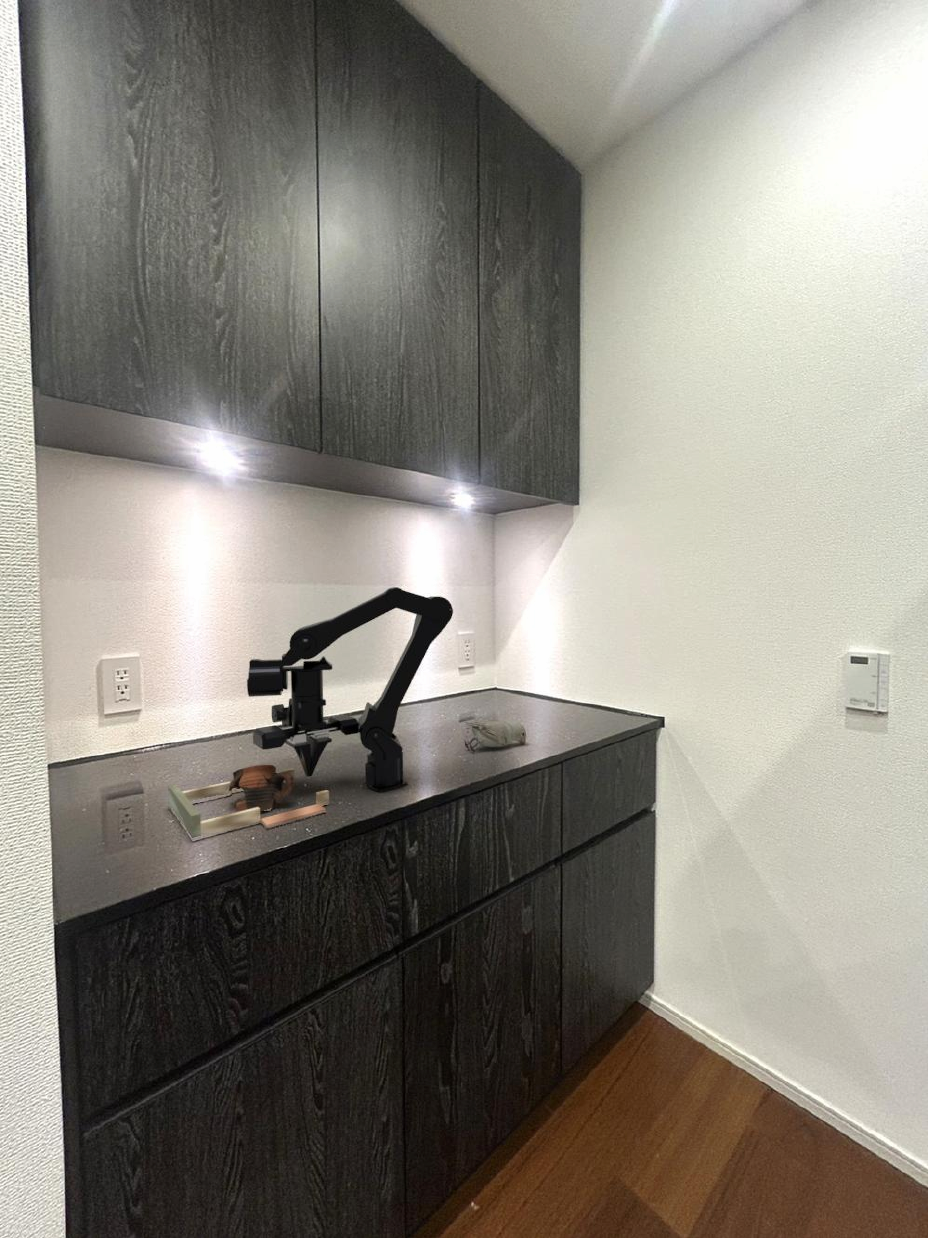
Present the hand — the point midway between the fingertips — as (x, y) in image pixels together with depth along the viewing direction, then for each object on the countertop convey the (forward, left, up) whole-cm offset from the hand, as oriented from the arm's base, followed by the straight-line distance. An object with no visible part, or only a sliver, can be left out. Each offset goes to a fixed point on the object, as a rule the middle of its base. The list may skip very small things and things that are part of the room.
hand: (308, 775), depth 103 cm
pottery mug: (+9, +1, -3) cm, 10 cm away
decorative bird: (-47, +1, -4) cm, 47 cm away
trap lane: (+10, 0, -3) cm, 11 cm away
